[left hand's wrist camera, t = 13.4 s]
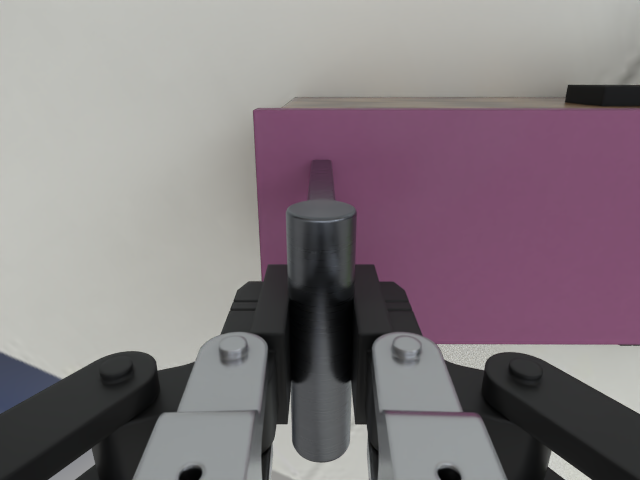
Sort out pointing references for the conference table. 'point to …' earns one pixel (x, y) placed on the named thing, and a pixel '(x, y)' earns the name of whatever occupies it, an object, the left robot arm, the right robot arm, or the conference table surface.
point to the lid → (446, 232)
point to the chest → (437, 102)
